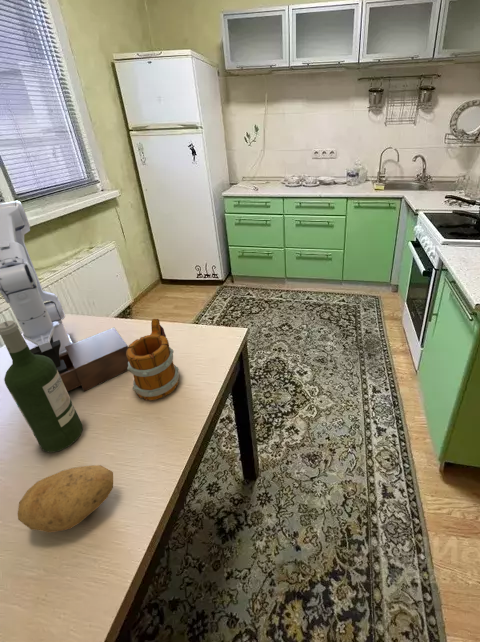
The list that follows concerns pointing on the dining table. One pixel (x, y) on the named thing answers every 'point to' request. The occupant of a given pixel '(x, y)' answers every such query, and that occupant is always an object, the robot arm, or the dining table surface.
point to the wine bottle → (39, 393)
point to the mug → (152, 364)
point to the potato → (65, 498)
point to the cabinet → (98, 357)
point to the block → (62, 367)
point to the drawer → (69, 374)
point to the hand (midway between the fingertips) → (52, 359)
